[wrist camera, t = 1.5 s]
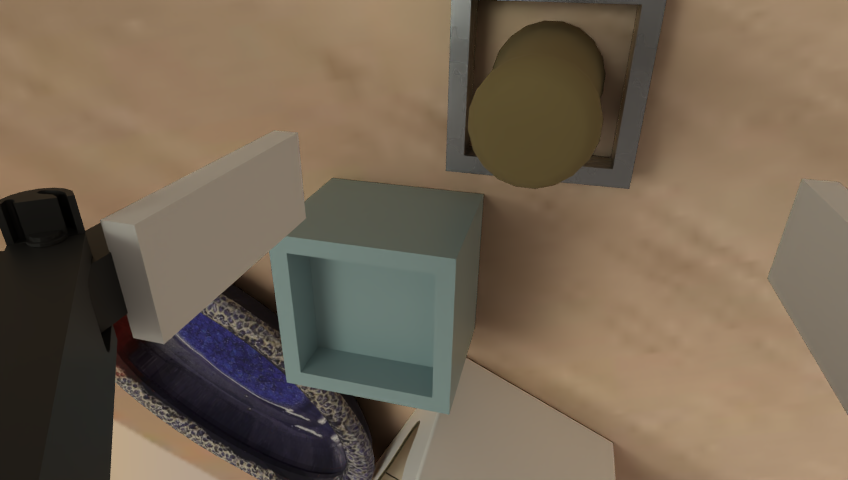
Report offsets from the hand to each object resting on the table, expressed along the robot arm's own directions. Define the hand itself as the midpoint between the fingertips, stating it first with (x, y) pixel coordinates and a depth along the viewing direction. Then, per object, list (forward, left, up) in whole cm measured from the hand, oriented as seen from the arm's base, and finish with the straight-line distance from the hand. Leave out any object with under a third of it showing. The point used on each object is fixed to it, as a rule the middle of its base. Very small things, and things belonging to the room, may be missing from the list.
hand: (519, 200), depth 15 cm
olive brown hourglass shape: (0, 0, -17) cm, 17 cm away
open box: (+12, -8, -17) cm, 22 cm away
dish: (+23, -23, -18) cm, 37 cm away
